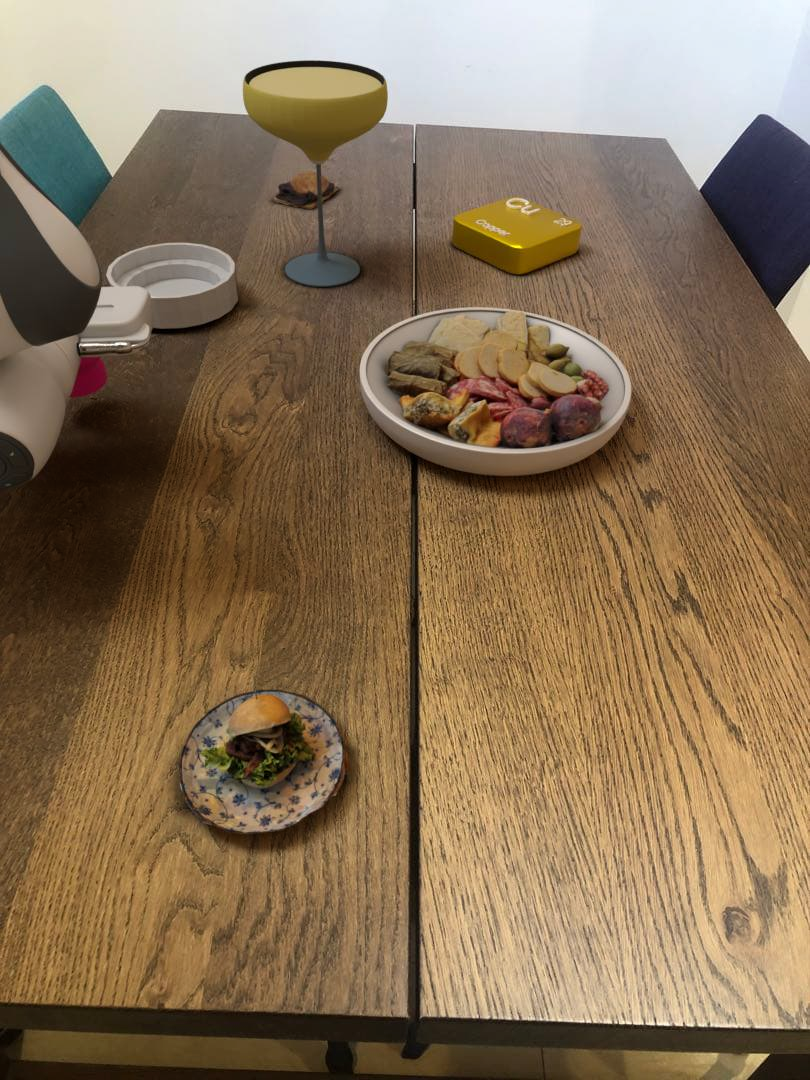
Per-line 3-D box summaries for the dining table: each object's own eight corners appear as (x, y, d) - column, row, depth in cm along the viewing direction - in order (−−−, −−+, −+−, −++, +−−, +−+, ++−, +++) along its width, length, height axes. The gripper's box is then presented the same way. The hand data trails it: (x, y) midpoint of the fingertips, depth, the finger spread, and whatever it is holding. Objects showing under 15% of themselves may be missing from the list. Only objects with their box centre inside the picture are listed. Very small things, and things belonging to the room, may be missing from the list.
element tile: (446, 243, 127) (448, 212, 123) (511, 220, 134) (515, 190, 131) (517, 278, 119) (521, 246, 115) (583, 251, 126) (588, 220, 123)
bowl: (307, 394, 95) (304, 333, 89) (491, 319, 109) (498, 263, 104) (487, 532, 78) (496, 467, 73) (676, 423, 93) (695, 362, 88)
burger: (155, 831, 55) (134, 772, 50) (212, 690, 64) (199, 628, 59) (328, 860, 54) (324, 803, 49) (362, 714, 63) (362, 652, 58)
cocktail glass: (301, 311, 109) (288, 108, 92) (237, 261, 120) (215, 70, 103) (409, 279, 117) (416, 86, 100) (341, 234, 128) (337, 53, 111)
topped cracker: (300, 181, 144) (299, 159, 142) (342, 190, 142) (342, 168, 139) (268, 201, 137) (266, 178, 134) (312, 210, 134) (311, 187, 132)
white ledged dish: (107, 336, 103) (98, 299, 100) (122, 278, 115) (114, 244, 111) (237, 331, 105) (233, 295, 101) (239, 275, 117) (235, 241, 113)
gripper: (141, 317, 70) (155, 249, 80) (-112, 324, 68) (-66, 253, 78) (154, 380, 75) (165, 308, 85) (-84, 389, 72) (-43, 313, 82)
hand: (53, 282), depth 81 cm, fingers closed on pepper mill, 4 cm apart
